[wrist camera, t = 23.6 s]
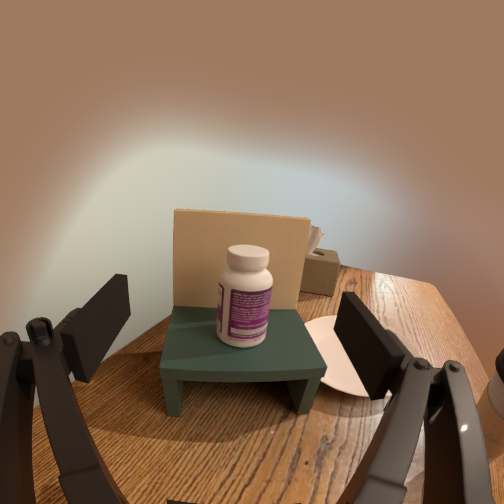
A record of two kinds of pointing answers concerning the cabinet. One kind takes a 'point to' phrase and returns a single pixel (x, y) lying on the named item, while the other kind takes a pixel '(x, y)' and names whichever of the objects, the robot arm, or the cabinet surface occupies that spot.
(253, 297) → the pill bottle
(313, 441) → the cabinet surface
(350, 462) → the cabinet surface
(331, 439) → the cabinet surface
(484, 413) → the coffee cup
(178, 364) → the green and tan chair
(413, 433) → the robot arm
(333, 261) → the tissue box
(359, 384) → the plate
